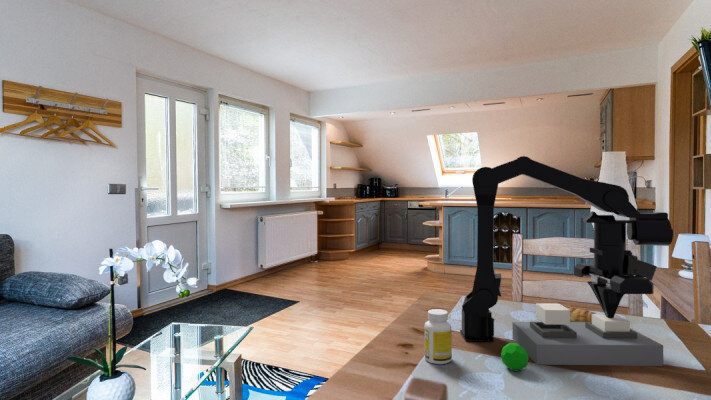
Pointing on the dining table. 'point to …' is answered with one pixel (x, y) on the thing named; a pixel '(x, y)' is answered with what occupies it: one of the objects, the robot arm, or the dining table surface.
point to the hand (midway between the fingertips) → (609, 317)
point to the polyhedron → (514, 356)
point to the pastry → (580, 315)
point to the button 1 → (552, 314)
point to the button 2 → (610, 323)
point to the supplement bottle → (438, 337)
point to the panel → (585, 345)
